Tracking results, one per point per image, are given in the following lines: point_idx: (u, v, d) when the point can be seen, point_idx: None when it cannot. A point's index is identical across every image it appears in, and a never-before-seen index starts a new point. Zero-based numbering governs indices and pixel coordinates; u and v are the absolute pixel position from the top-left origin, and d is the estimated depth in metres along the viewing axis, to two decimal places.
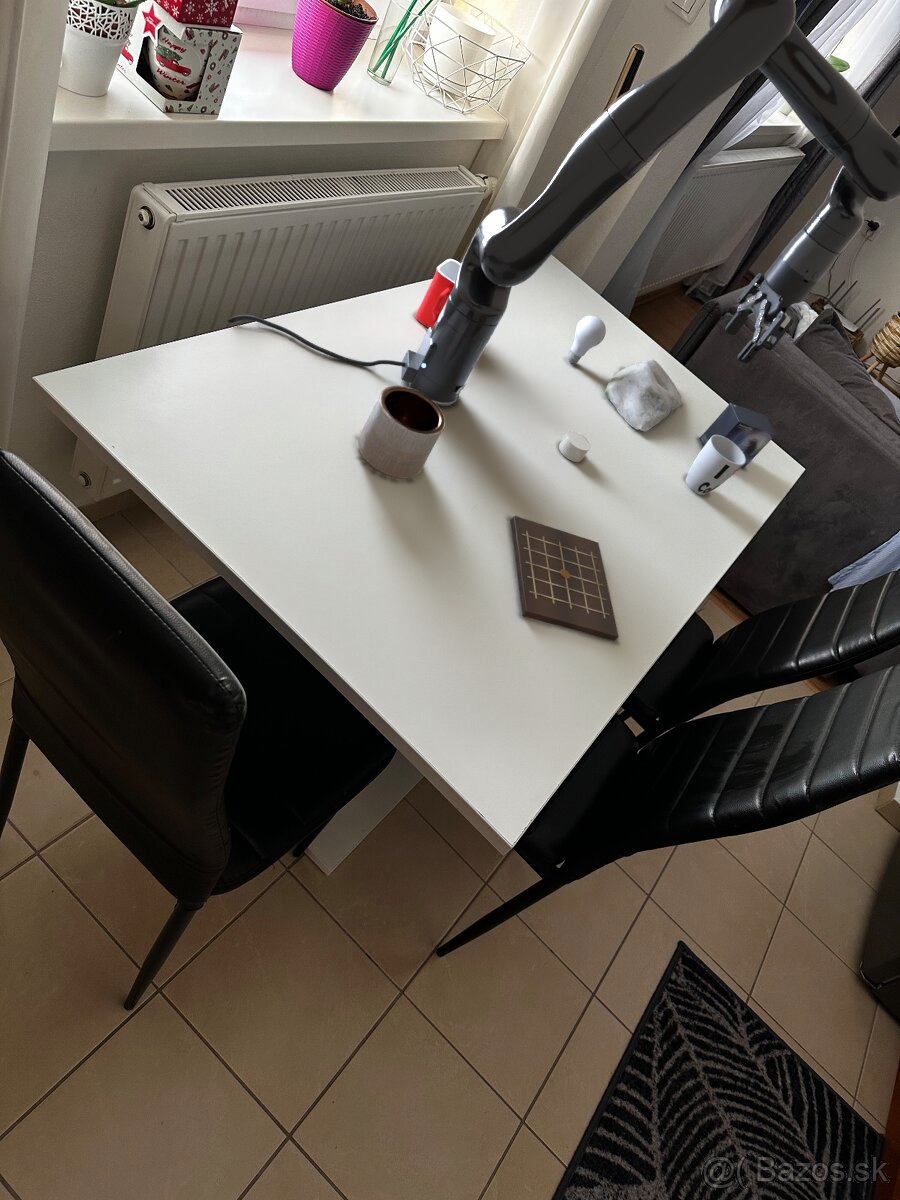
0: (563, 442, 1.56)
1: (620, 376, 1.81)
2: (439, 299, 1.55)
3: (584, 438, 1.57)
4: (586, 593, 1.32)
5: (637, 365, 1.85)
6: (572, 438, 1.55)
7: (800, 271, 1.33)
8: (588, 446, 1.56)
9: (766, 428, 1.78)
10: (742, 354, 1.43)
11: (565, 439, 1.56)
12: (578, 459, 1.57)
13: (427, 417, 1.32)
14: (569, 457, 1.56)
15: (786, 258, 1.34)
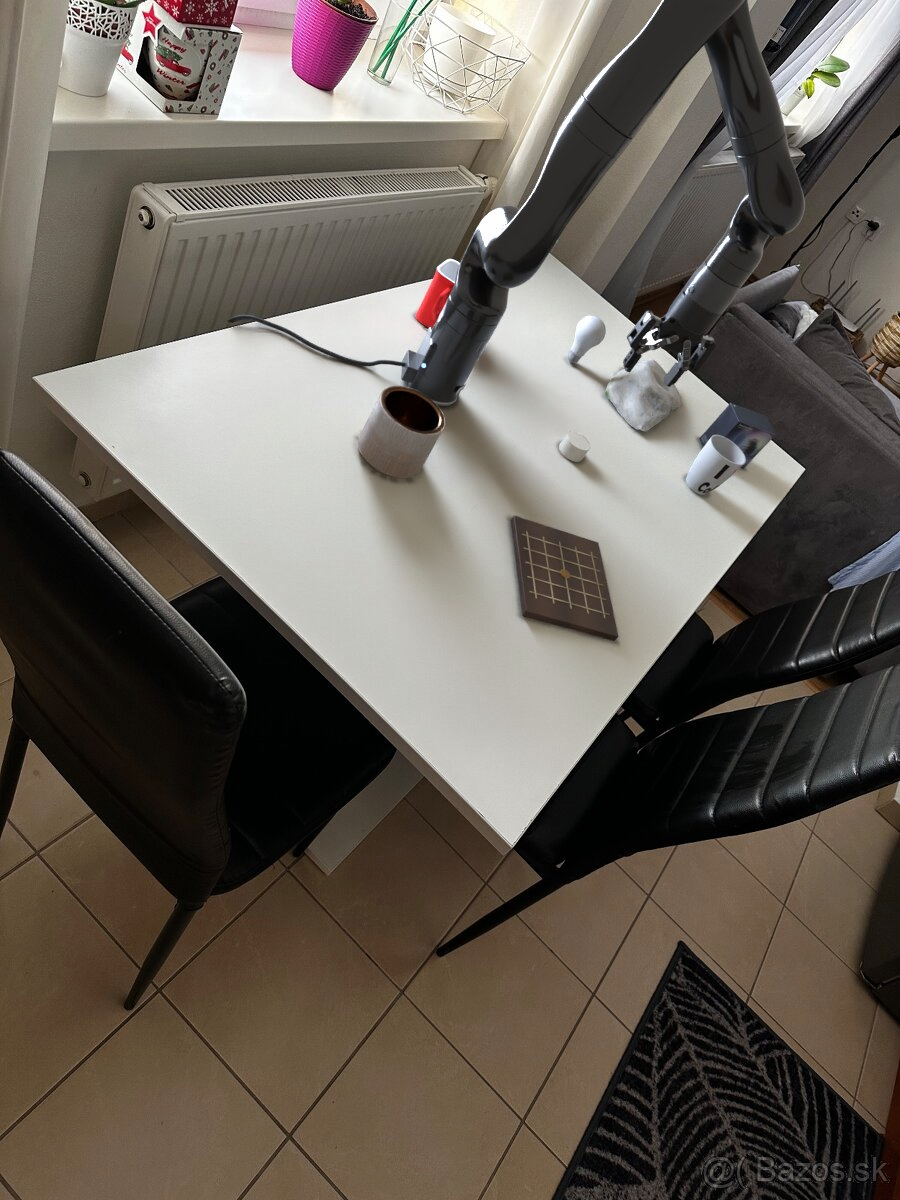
0: (563, 442, 1.56)
1: (620, 376, 1.81)
2: (439, 299, 1.55)
3: (584, 438, 1.57)
4: (586, 593, 1.32)
5: (637, 365, 1.85)
6: (572, 438, 1.55)
7: (686, 284, 1.36)
8: (588, 446, 1.56)
9: (766, 428, 1.78)
10: None
11: (565, 439, 1.56)
12: (578, 459, 1.57)
13: (427, 417, 1.32)
14: (569, 457, 1.56)
15: None
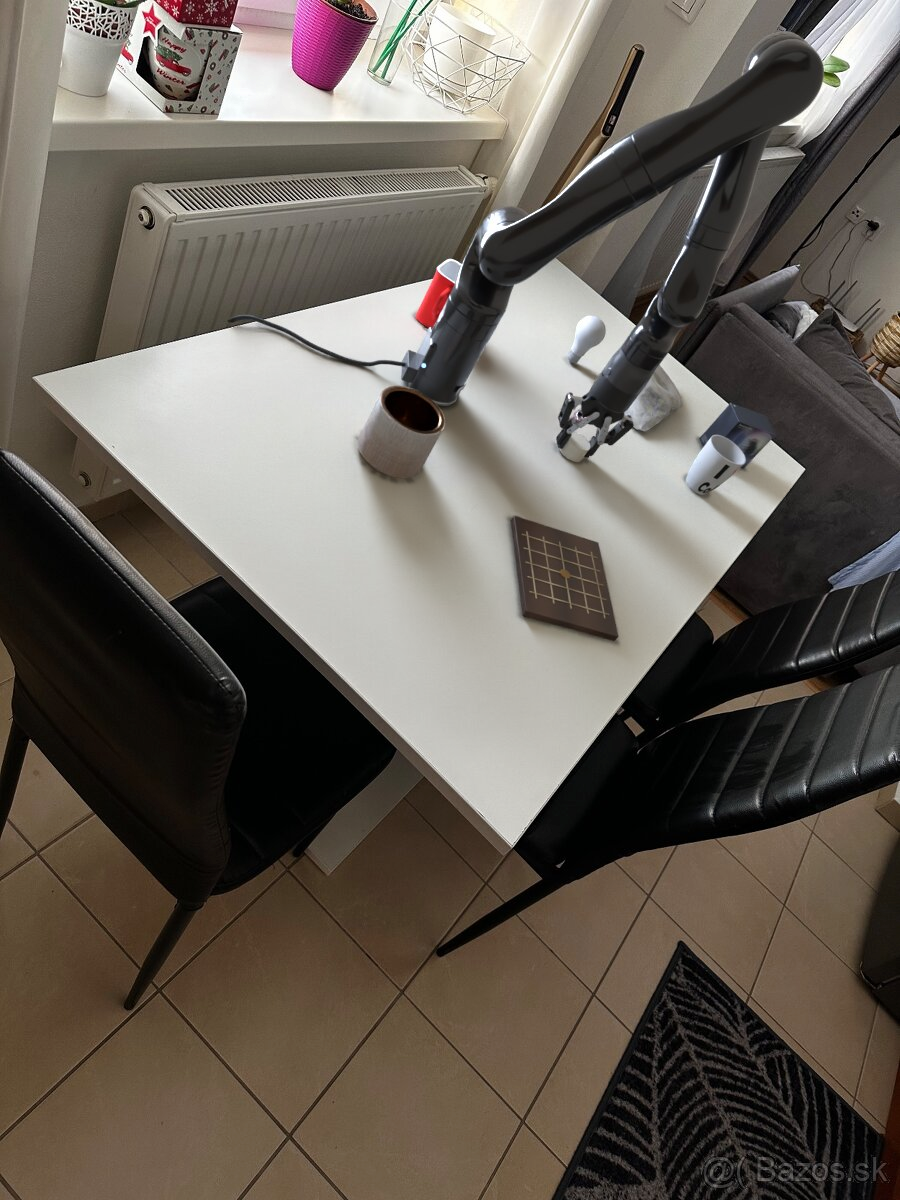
0: None
1: None
2: (439, 299, 1.55)
3: (584, 438, 1.57)
4: (586, 593, 1.32)
5: None
6: (572, 439, 1.56)
7: (605, 366, 1.46)
8: (588, 446, 1.56)
9: (766, 428, 1.78)
10: None
11: None
12: (578, 459, 1.57)
13: (427, 417, 1.32)
14: (569, 457, 1.56)
15: None
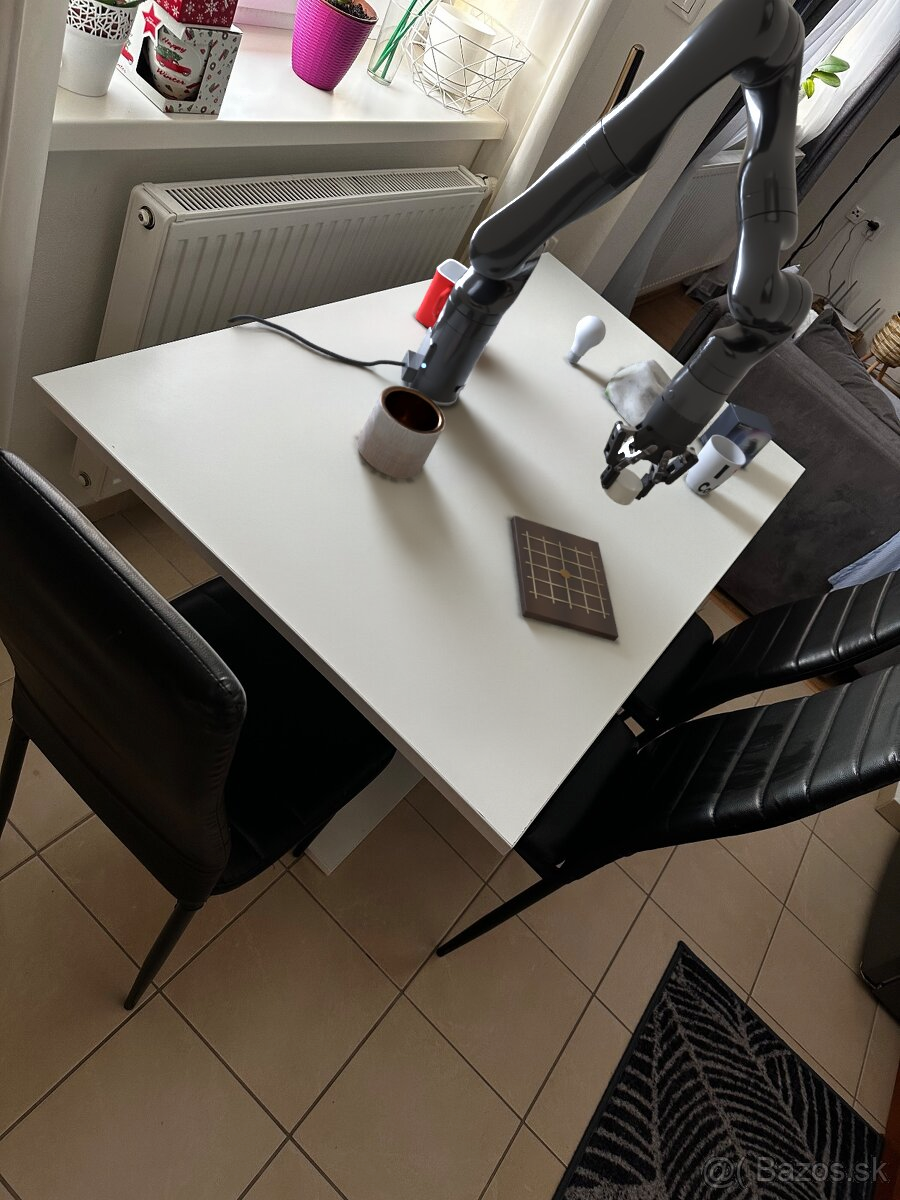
0: None
1: (620, 376, 1.81)
2: (439, 299, 1.55)
3: (634, 475, 1.27)
4: (586, 593, 1.32)
5: (637, 365, 1.85)
6: (620, 477, 1.25)
7: None
8: (640, 486, 1.25)
9: (766, 428, 1.78)
10: None
11: None
12: (628, 502, 1.26)
13: (427, 417, 1.32)
14: (617, 500, 1.25)
15: None
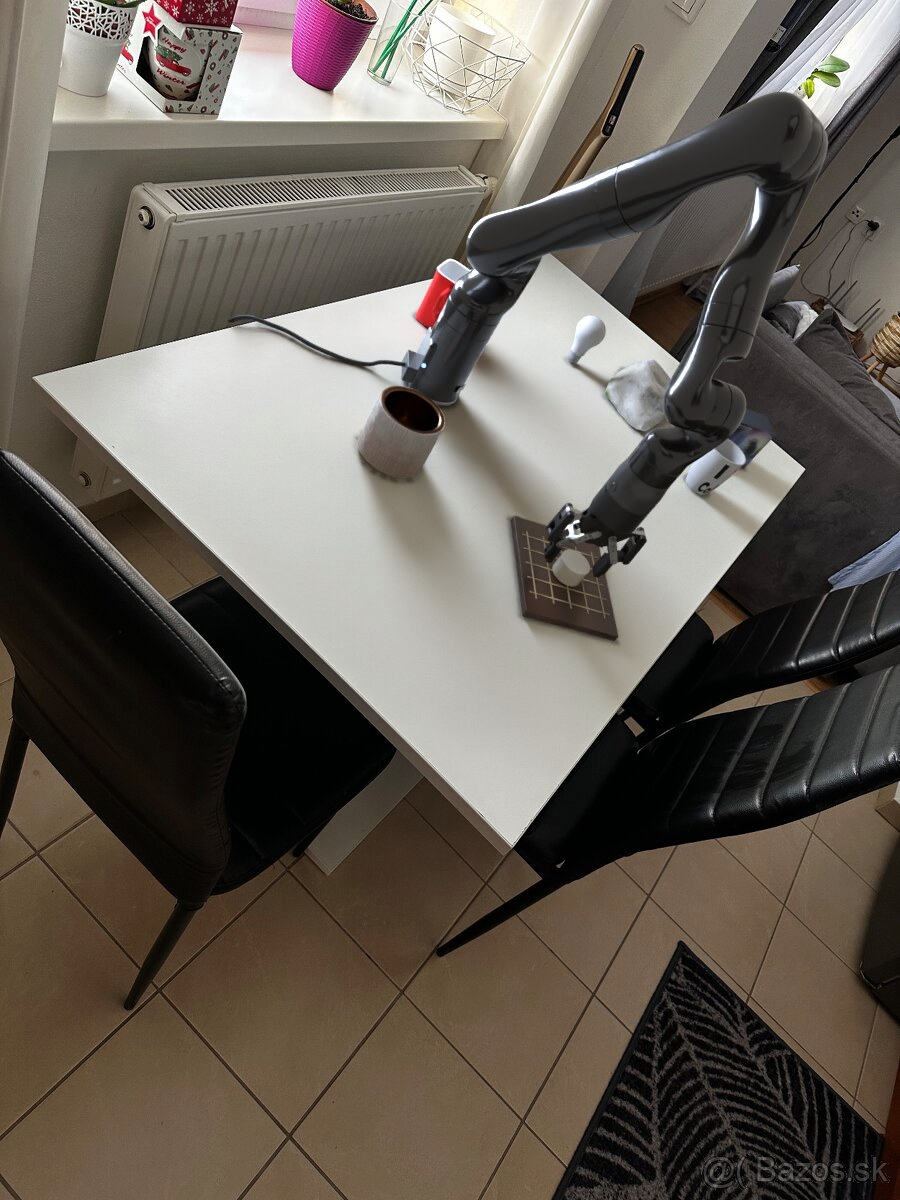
0: (557, 564, 1.31)
1: (620, 376, 1.81)
2: (439, 299, 1.55)
3: (582, 558, 1.32)
4: (586, 593, 1.32)
5: (637, 365, 1.85)
6: (568, 560, 1.30)
7: (609, 478, 1.20)
8: (587, 568, 1.31)
9: (766, 428, 1.78)
10: None
11: (560, 560, 1.30)
12: (575, 583, 1.31)
13: (427, 417, 1.32)
14: (564, 582, 1.31)
15: None
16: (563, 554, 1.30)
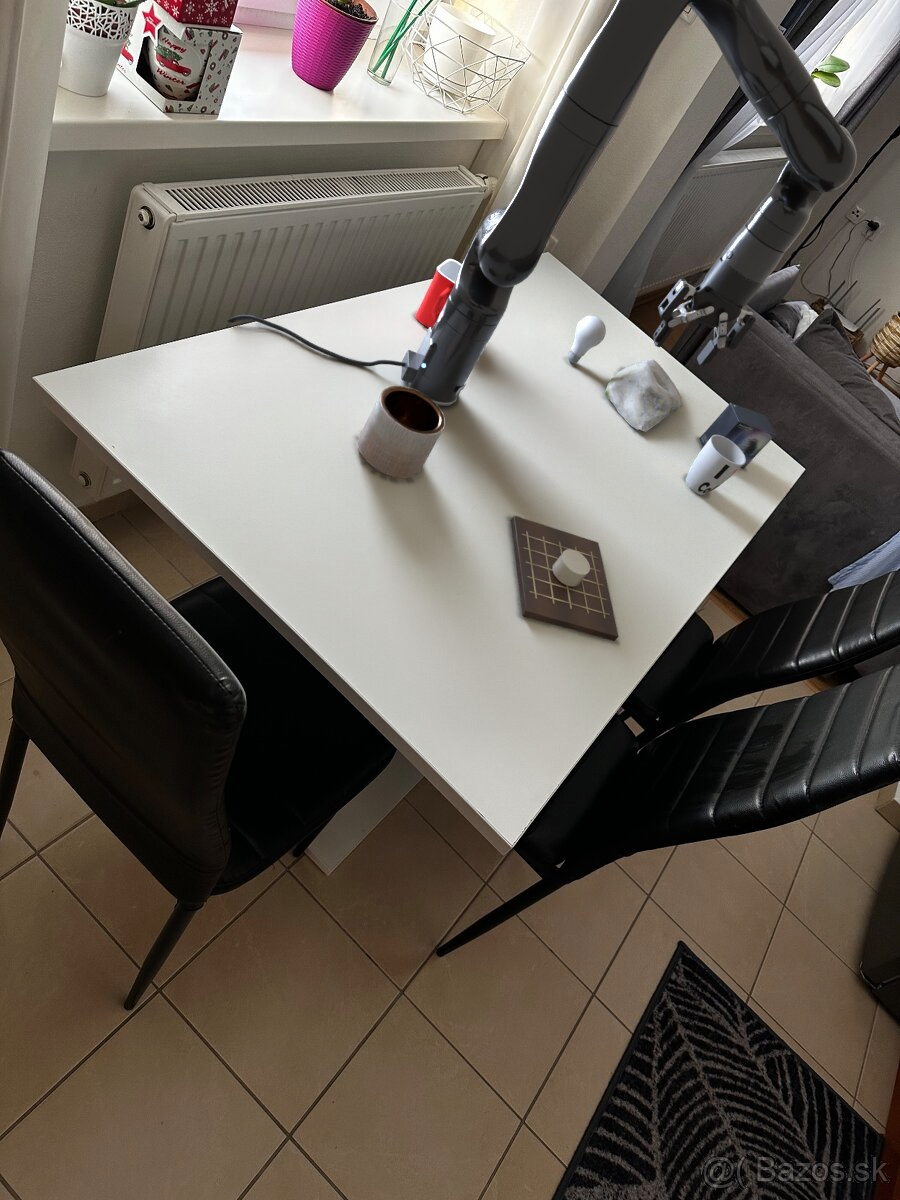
0: (557, 564, 1.31)
1: (620, 376, 1.81)
2: (439, 299, 1.55)
3: (582, 558, 1.32)
4: (586, 593, 1.32)
5: (637, 365, 1.85)
6: (568, 560, 1.30)
7: (724, 250, 1.25)
8: (587, 568, 1.31)
9: (766, 428, 1.78)
10: None
11: (560, 560, 1.30)
12: (575, 583, 1.31)
13: (427, 417, 1.32)
14: (564, 582, 1.31)
15: None
16: (563, 554, 1.30)
